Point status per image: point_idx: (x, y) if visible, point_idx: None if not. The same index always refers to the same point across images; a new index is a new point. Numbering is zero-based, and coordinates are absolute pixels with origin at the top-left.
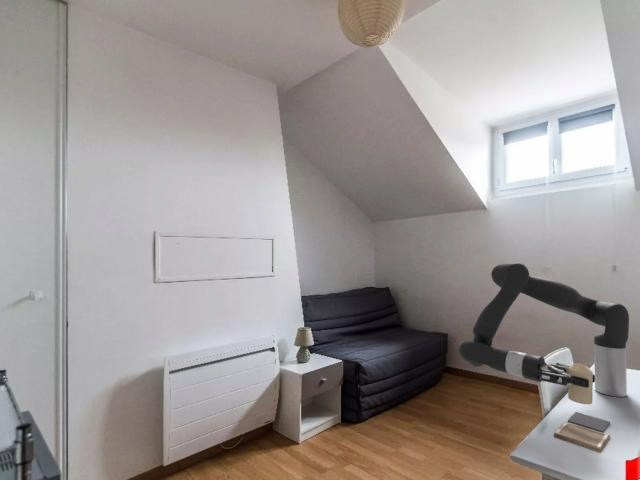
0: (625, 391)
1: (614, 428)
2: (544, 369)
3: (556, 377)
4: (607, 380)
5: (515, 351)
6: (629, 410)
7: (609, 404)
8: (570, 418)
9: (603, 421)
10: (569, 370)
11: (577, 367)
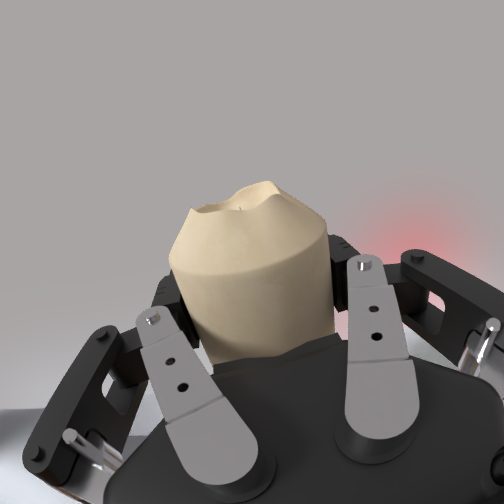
0: None
1: (146, 426)
2: (481, 413)
3: (443, 316)
4: None
5: None
6: (29, 415)
7: (15, 443)
8: None
9: (129, 446)
10: (313, 260)
11: (290, 200)
